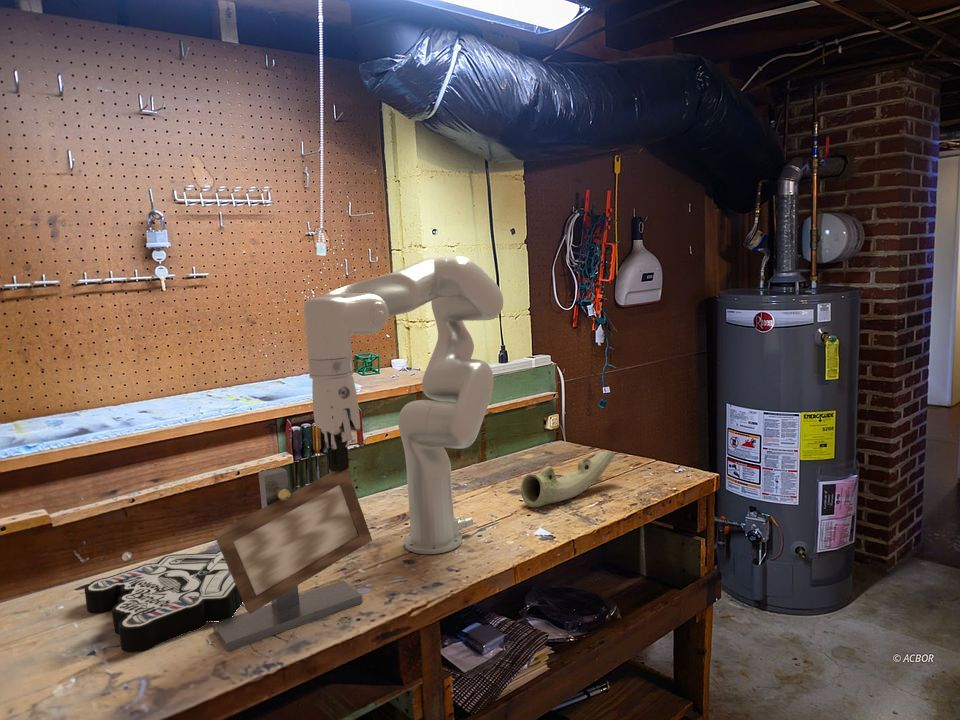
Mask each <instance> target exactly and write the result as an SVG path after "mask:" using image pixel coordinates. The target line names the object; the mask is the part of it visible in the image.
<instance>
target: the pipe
mask: <svg viewBox="0 0 960 720" xmlns="http://www.w3.org/2000/svg"><path fill="white" fill-rule="evenodd" d="M615 455H616V453H614V451H610V450H604V451H599V452H597V453H596V454H595V455H594V456H593V457H592V458H591V459H590V458H589V457H583V458H581V459H580V460H579V461H578V463H577V469H576V470H574V471H572V472H570V473H568V474H565V475H563V476H561V477H556V474H555V470H554V468H553V467H552V466H551V465H547V466H546V467H544V468H542V469H541V471H540V472H538V473H534V474H533V473H532V474H527V475H525V476H524V477H523V479H522V482H521V484H520V485H521V487H520V494H521V497H522V500H523V502H524V503H525V504H526V506H528V507H530V508H540V507H543V506H546V505H549V504H555V503H558V502H559V503H560V502H562V501H566V500H569V499H572V498H574V497H576V496H578V495H580V494H582V493H584V491H586V490H587V489H589V487H591V486H592V485H593V484H594V483H595V482H597V481H598V479H599V478H601V476H602V475H603V473H605V471H606V469H607V467H608V466H609V465H610V464H611V462H613V461H612V460H613V459H614V458H615Z"/></svg>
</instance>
